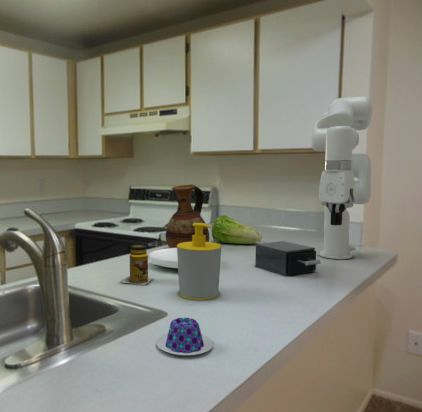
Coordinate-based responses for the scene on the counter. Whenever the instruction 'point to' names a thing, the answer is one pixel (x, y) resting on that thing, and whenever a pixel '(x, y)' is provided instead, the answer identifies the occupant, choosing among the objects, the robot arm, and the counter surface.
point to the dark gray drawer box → (277, 256)
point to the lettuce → (234, 232)
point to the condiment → (138, 266)
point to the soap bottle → (199, 266)
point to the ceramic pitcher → (185, 216)
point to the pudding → (184, 338)
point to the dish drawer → (301, 262)
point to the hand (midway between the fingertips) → (336, 224)
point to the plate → (164, 257)
